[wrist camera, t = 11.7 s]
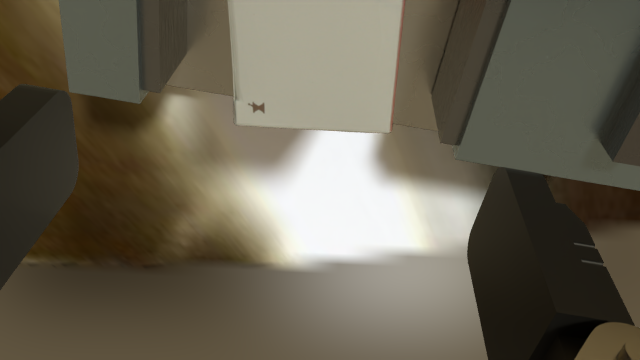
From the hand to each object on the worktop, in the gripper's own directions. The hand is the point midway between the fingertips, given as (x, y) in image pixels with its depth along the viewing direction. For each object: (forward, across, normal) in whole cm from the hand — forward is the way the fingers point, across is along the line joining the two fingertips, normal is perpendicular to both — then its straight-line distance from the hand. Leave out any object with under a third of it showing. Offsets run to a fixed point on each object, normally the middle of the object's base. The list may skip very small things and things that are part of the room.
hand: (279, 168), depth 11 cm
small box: (+19, 0, 0) cm, 19 cm away
